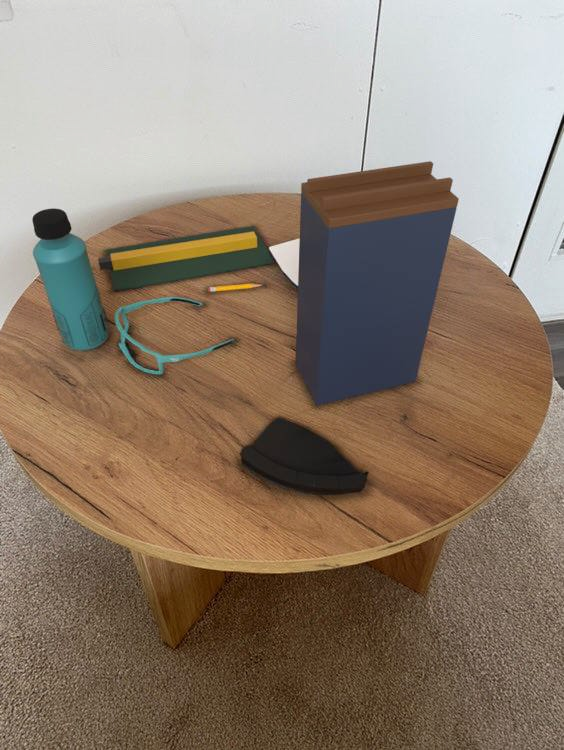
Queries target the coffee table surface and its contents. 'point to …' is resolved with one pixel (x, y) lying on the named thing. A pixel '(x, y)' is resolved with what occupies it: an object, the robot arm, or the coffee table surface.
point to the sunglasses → (160, 358)
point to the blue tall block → (369, 276)
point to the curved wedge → (300, 461)
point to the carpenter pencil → (178, 251)
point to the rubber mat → (189, 262)
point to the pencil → (232, 287)
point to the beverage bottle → (69, 281)
